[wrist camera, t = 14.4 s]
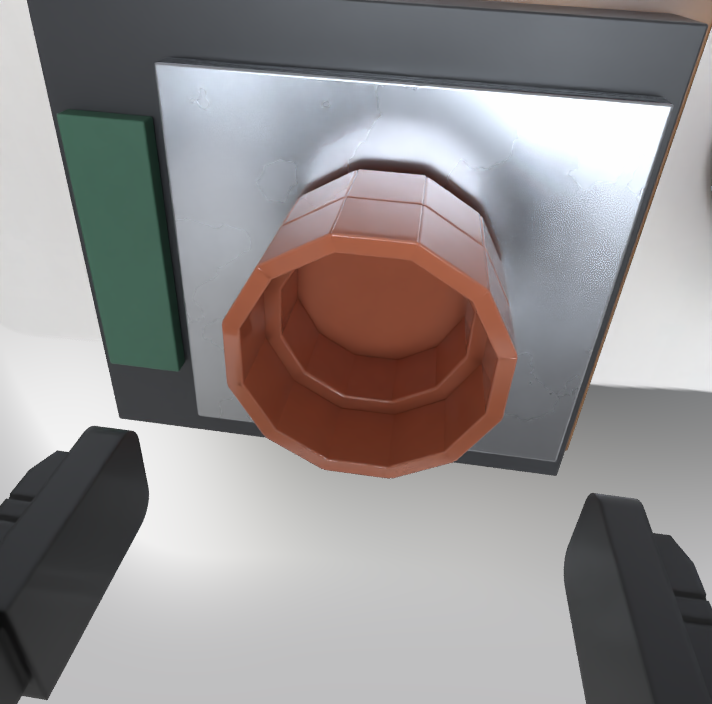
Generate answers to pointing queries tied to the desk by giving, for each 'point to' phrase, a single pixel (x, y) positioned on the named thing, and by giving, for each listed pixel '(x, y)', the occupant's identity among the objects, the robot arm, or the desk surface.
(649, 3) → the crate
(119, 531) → the robot arm
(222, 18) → the scale
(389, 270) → the bowl
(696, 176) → the desk surface
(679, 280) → the desk surface
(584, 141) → the scale pan
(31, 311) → the desk surface
